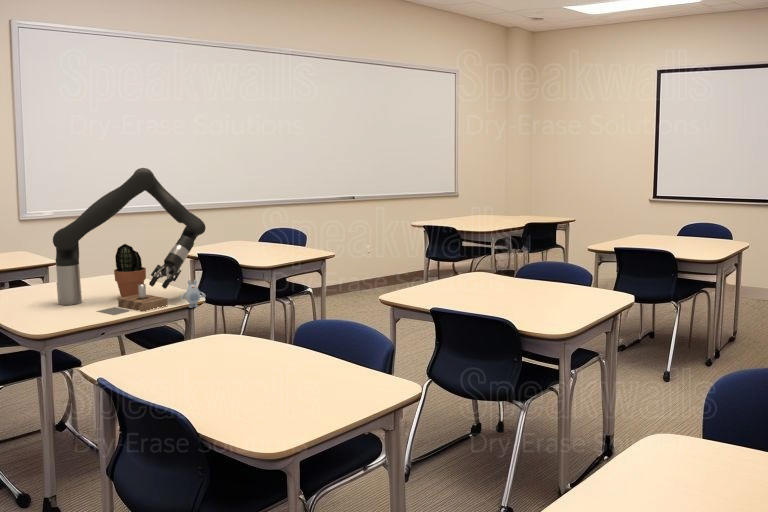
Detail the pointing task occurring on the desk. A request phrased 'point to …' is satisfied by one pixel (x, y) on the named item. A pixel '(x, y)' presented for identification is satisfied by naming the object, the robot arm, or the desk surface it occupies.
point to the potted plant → (128, 271)
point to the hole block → (142, 302)
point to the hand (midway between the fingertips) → (157, 286)
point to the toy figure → (192, 294)
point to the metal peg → (142, 291)
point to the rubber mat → (114, 311)
